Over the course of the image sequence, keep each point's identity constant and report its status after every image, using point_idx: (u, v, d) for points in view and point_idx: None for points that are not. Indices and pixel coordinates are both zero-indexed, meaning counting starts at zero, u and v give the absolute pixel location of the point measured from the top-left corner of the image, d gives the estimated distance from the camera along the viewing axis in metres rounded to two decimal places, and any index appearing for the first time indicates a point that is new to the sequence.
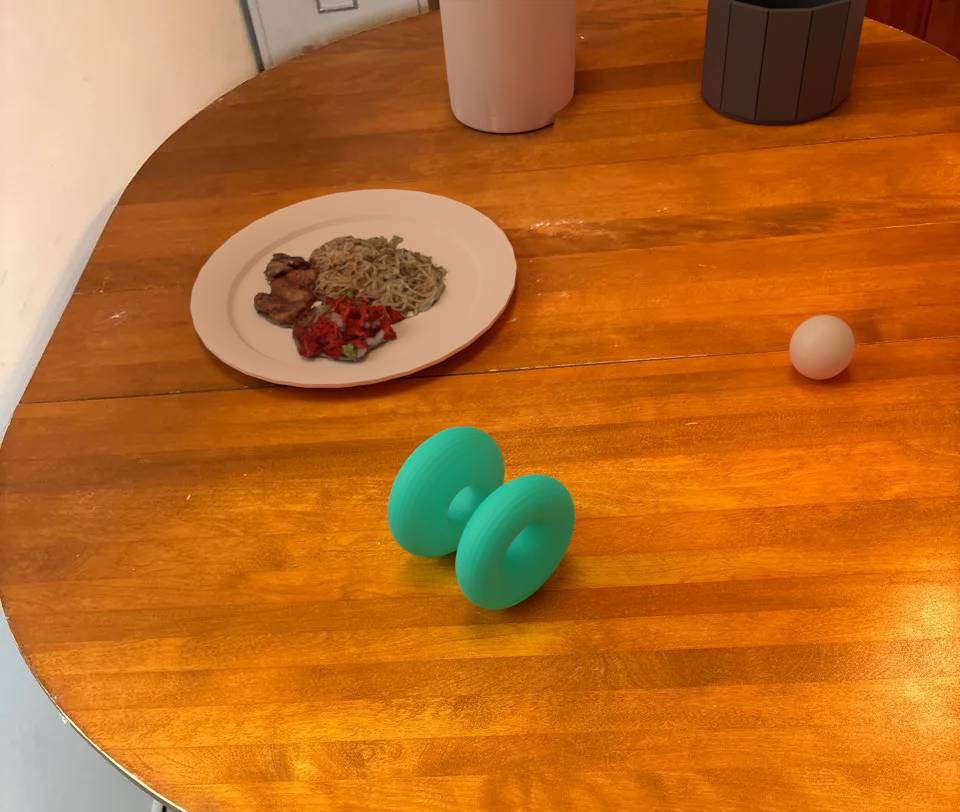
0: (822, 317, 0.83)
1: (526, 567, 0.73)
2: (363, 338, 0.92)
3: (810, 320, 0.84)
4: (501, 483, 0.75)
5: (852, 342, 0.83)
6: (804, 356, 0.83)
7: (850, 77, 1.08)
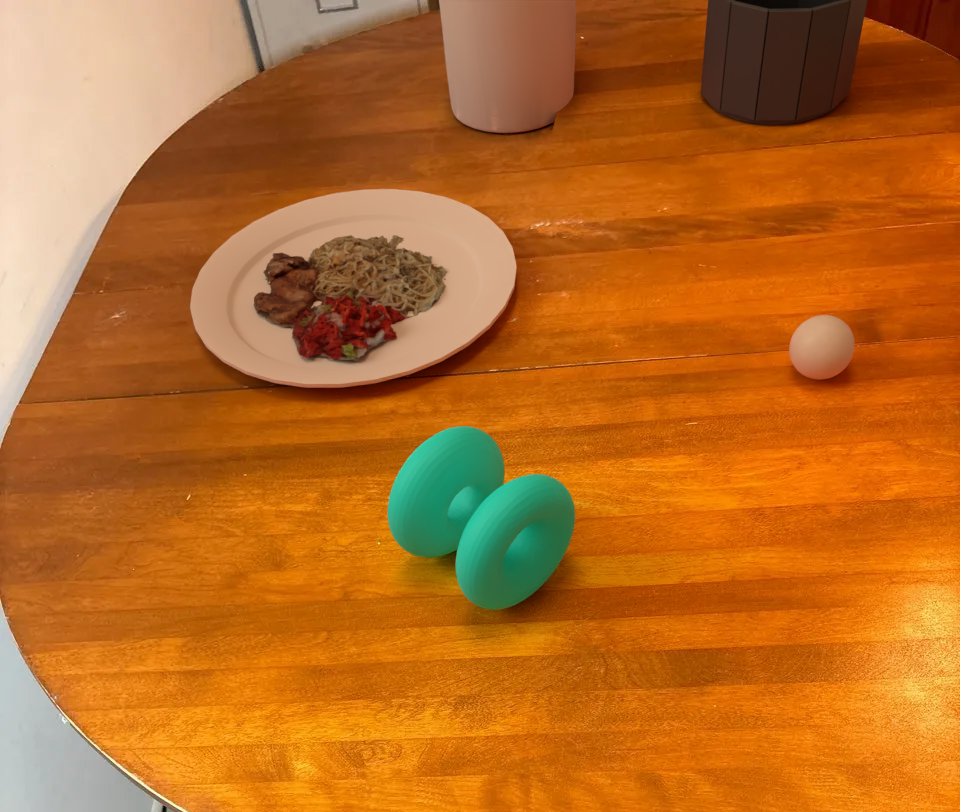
0: (822, 317, 0.83)
1: (526, 567, 0.73)
2: (363, 338, 0.92)
3: (810, 320, 0.84)
4: (501, 483, 0.75)
5: (852, 342, 0.83)
6: (804, 356, 0.83)
7: (850, 77, 1.08)
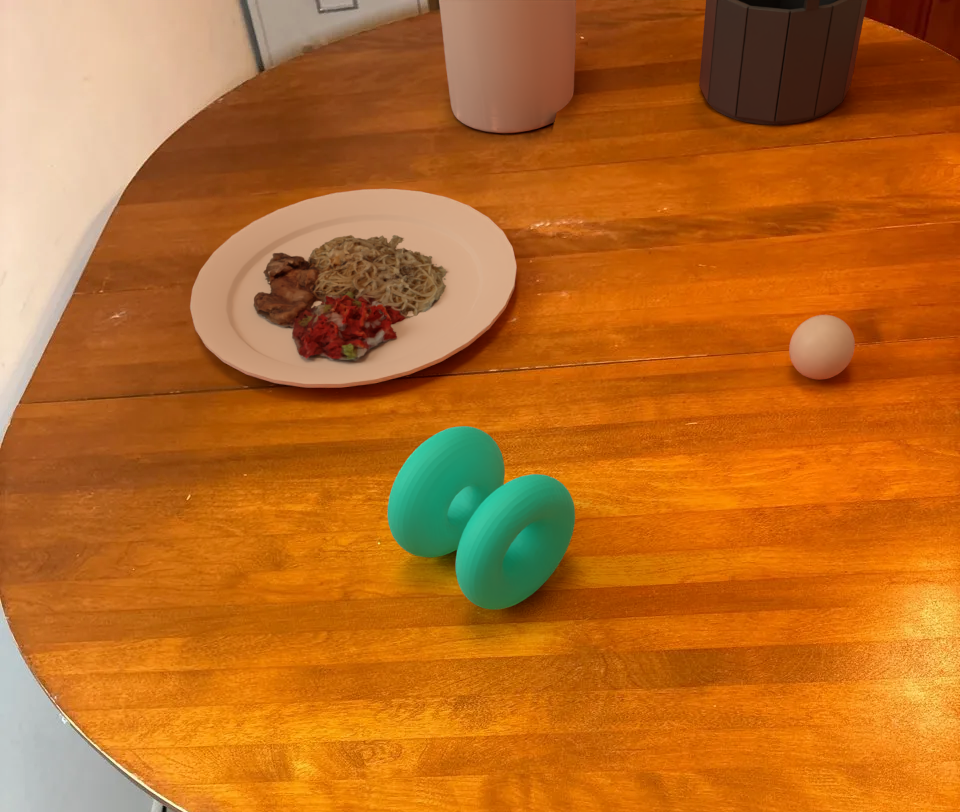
0: (822, 317, 0.83)
1: (526, 567, 0.73)
2: (363, 338, 0.92)
3: (810, 320, 0.84)
4: (501, 483, 0.75)
5: (852, 342, 0.83)
6: (804, 356, 0.83)
7: (771, 102, 1.06)
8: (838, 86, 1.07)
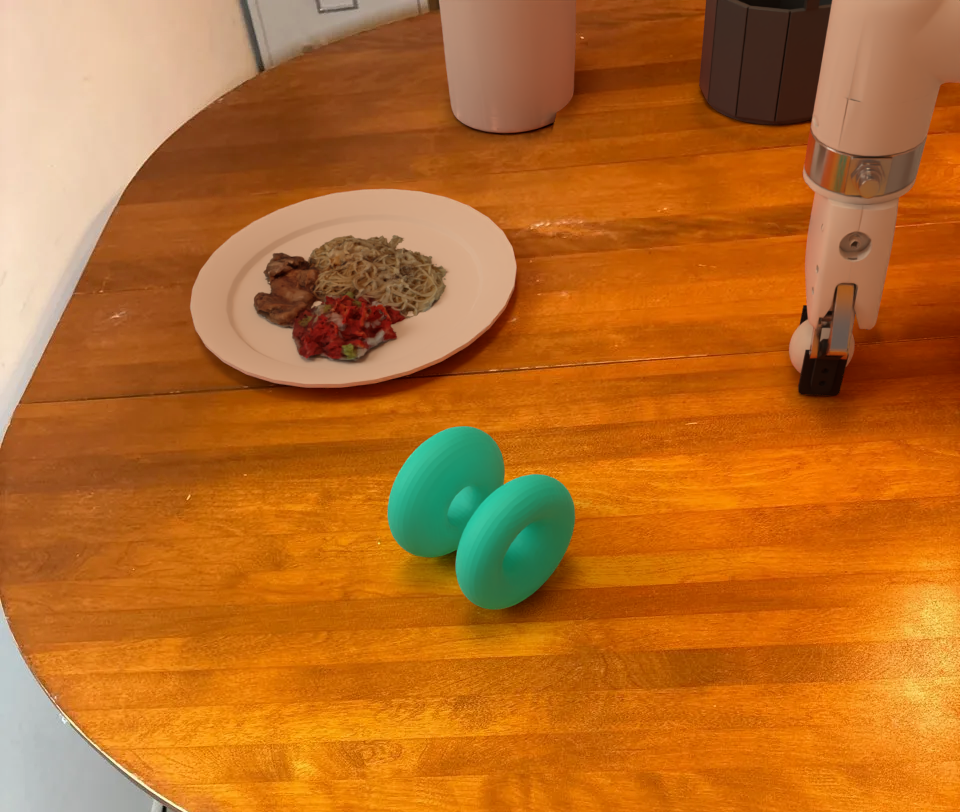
0: None
1: (526, 567, 0.73)
2: (363, 338, 0.92)
3: None
4: (501, 483, 0.75)
5: (852, 342, 0.83)
6: (803, 356, 0.83)
7: (771, 102, 1.06)
8: None
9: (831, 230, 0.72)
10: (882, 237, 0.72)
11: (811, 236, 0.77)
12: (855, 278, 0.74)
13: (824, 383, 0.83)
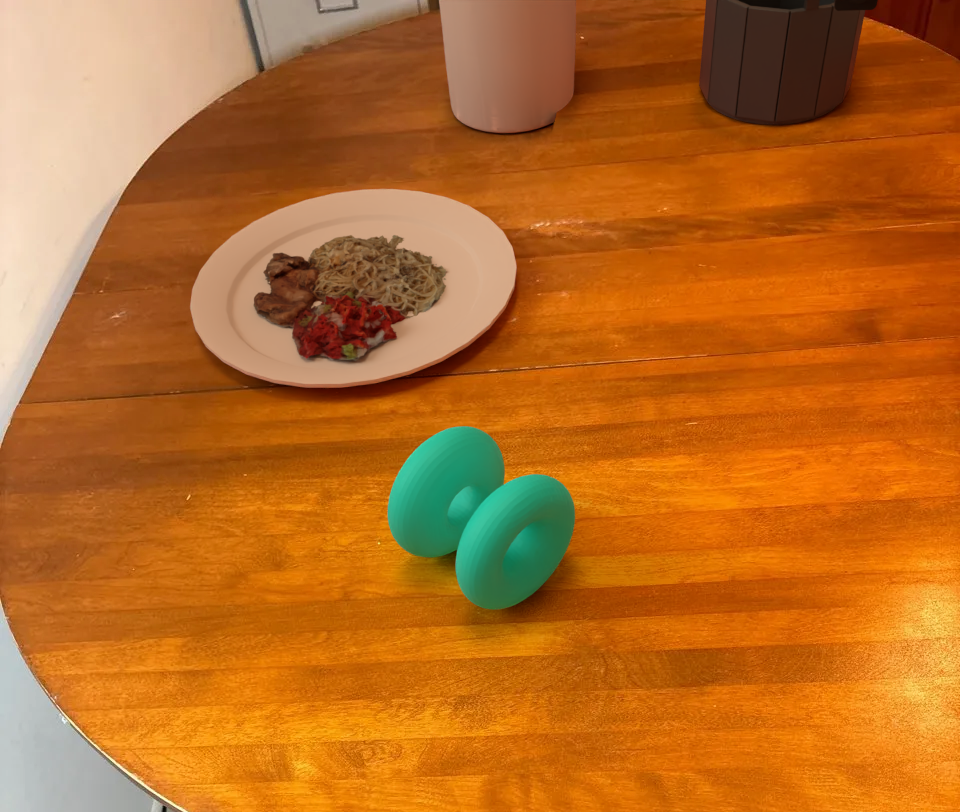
0: None
1: (526, 567, 0.73)
2: (363, 338, 0.92)
3: None
4: (501, 483, 0.75)
5: None
6: None
7: (771, 102, 1.06)
8: (838, 86, 1.07)
9: None
10: None
11: None
12: None
13: None
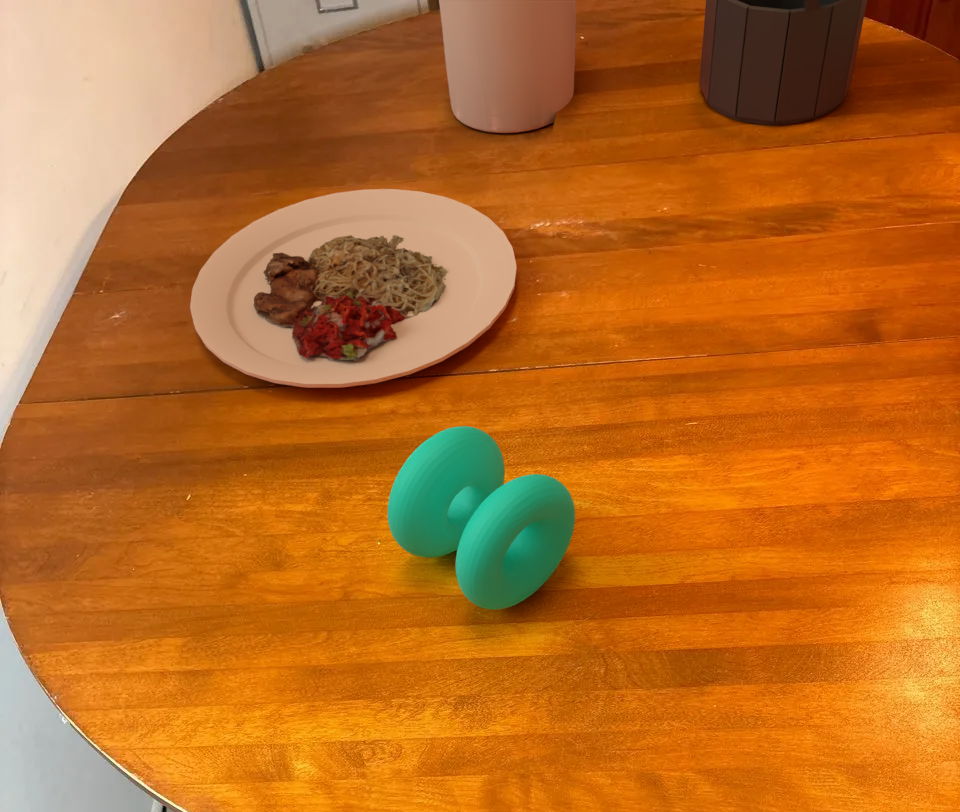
0: None
1: (526, 567, 0.73)
2: (363, 338, 0.92)
3: None
4: (501, 483, 0.75)
5: None
6: None
7: (771, 102, 1.06)
8: (838, 86, 1.07)
9: None
10: None
11: None
12: None
13: None
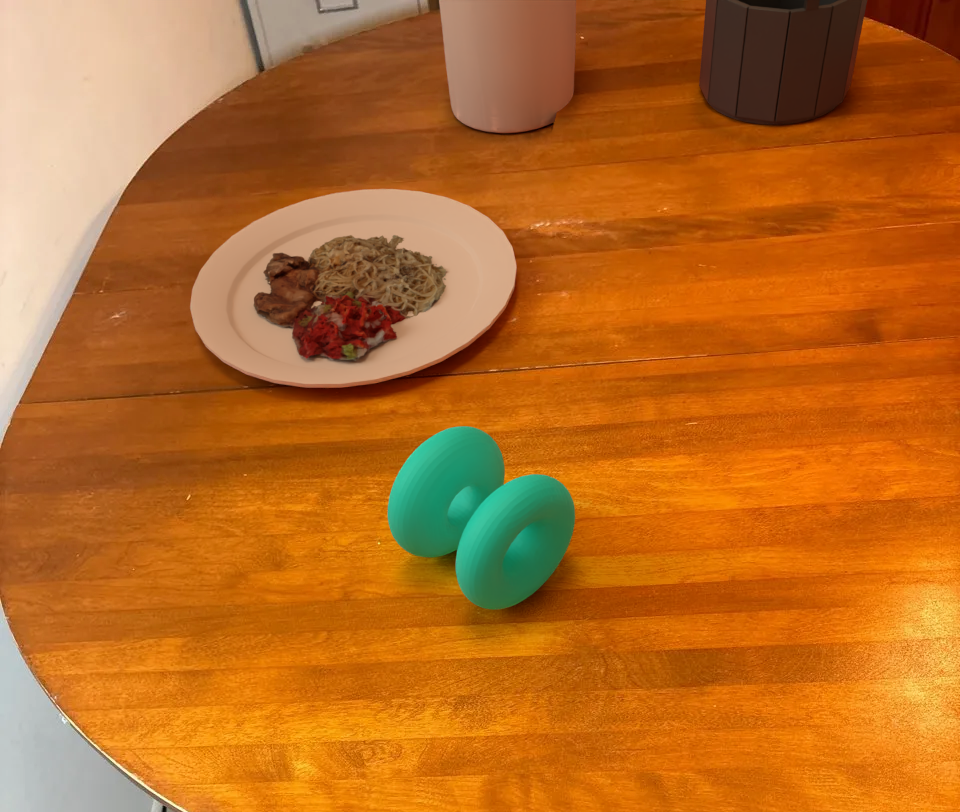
0: None
1: (526, 567, 0.73)
2: (363, 338, 0.92)
3: None
4: (501, 483, 0.75)
5: None
6: None
7: (771, 102, 1.06)
8: (838, 86, 1.07)
9: None
10: None
11: None
12: None
13: None
